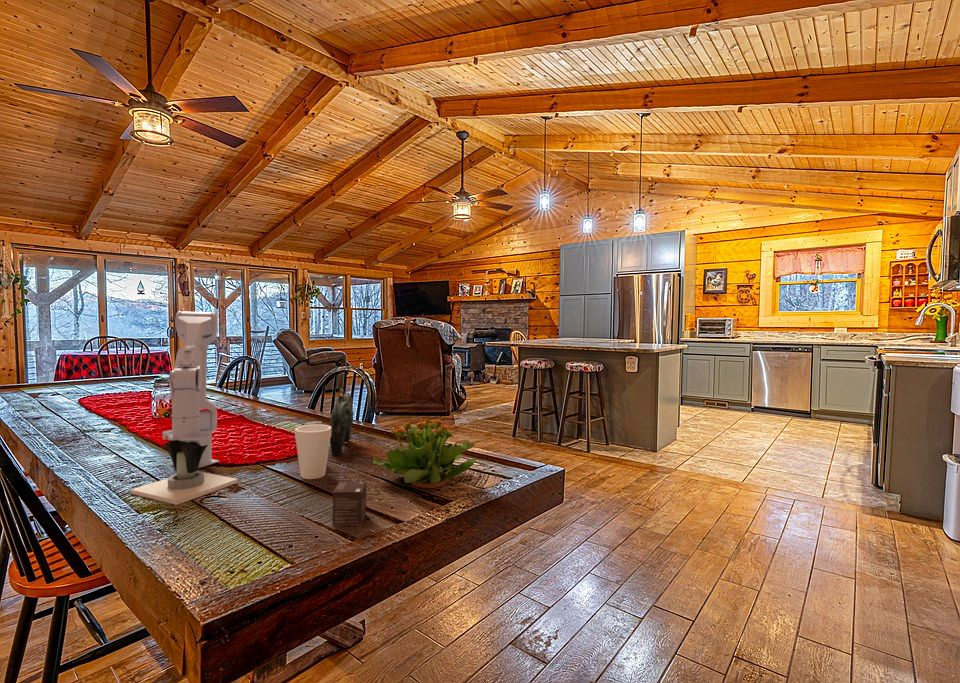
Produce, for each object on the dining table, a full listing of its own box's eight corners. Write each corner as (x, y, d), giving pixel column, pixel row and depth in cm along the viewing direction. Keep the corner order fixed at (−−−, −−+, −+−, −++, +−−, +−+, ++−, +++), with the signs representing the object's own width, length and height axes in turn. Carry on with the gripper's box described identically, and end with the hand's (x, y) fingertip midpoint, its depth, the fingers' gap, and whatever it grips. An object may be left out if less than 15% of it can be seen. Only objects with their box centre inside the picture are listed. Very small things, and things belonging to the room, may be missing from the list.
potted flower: (440, 463, 140) (441, 405, 140) (496, 483, 124) (498, 418, 123) (367, 481, 123) (368, 416, 122) (421, 508, 106) (423, 432, 105)
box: (338, 514, 102) (338, 481, 102) (366, 514, 102) (366, 481, 102) (332, 526, 96) (332, 491, 96) (361, 526, 96) (362, 491, 96)
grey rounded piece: (173, 479, 114) (172, 453, 114) (189, 474, 118) (188, 449, 118) (183, 482, 113) (183, 455, 112) (199, 477, 116) (199, 451, 116)
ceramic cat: (337, 440, 165) (338, 383, 164) (356, 439, 165) (357, 384, 164) (325, 456, 145) (326, 392, 144) (346, 456, 146) (347, 392, 145)
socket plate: (131, 493, 111) (130, 481, 111) (194, 473, 126) (194, 463, 126) (176, 504, 105) (176, 491, 105) (237, 482, 120) (237, 471, 120)
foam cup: (288, 474, 127) (288, 427, 126) (320, 467, 133) (320, 422, 133) (305, 483, 120) (305, 434, 120) (337, 475, 127) (337, 428, 126)
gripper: (149, 416, 114) (150, 471, 114) (190, 422, 108) (191, 479, 109) (178, 411, 120) (178, 463, 121) (218, 416, 115) (218, 471, 115)
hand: (186, 470), depth 115 cm, fingers closed on grey rounded piece, 4 cm apart
